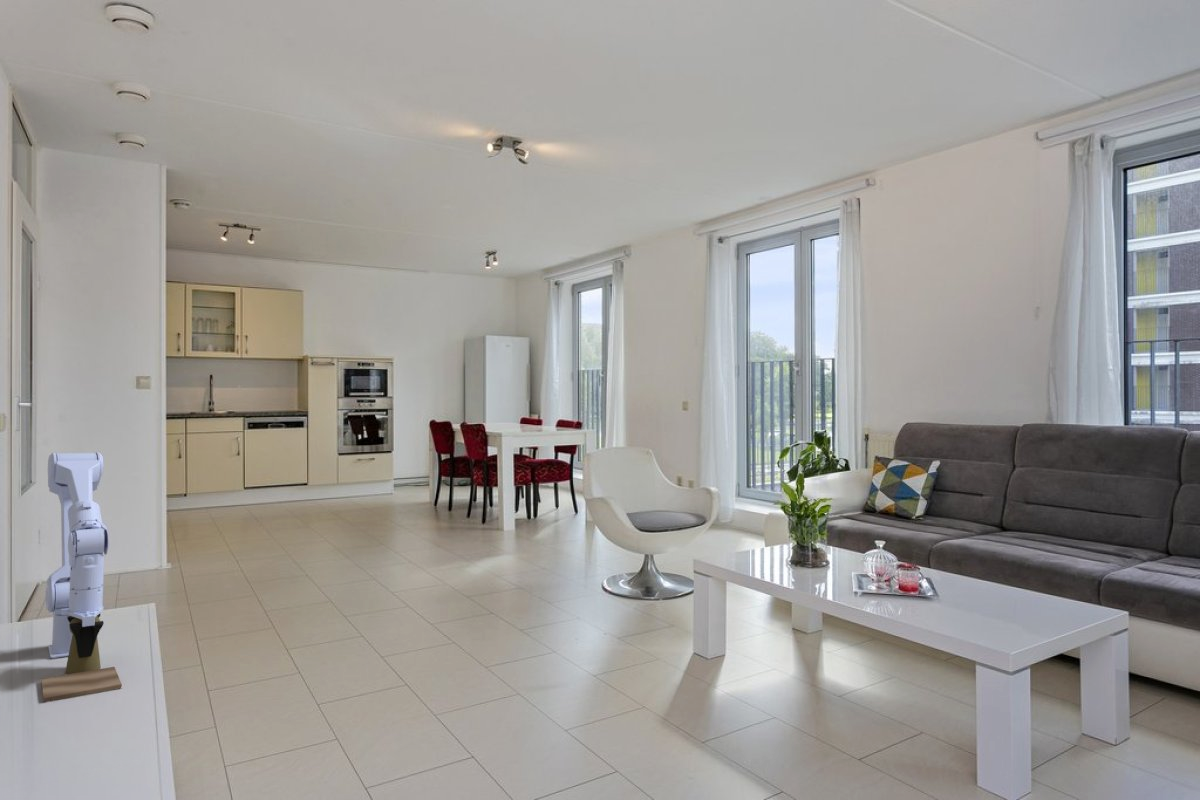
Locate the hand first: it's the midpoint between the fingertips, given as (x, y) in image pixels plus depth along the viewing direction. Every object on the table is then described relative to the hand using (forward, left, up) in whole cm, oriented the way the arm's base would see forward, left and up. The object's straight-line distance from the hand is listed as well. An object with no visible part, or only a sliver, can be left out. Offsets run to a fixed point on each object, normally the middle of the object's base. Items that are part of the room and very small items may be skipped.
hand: (83, 653), depth 151 cm
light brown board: (+10, -1, -3) cm, 11 cm away
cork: (0, 0, -4) cm, 4 cm away
